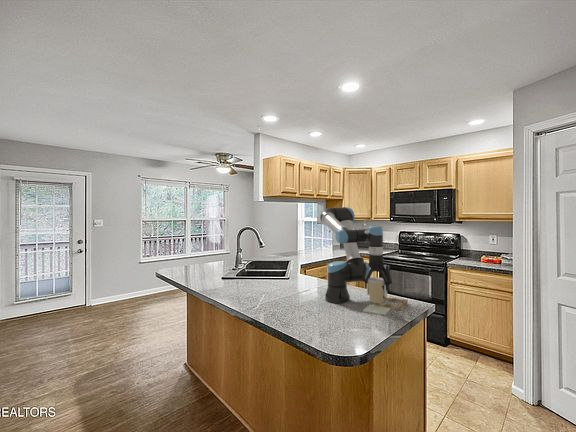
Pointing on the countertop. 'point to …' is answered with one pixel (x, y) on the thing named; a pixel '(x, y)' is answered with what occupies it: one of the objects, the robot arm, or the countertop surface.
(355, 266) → the robot arm
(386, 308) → the sage tile
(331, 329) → the countertop surface
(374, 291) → the coffee cup
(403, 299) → the oak frame
